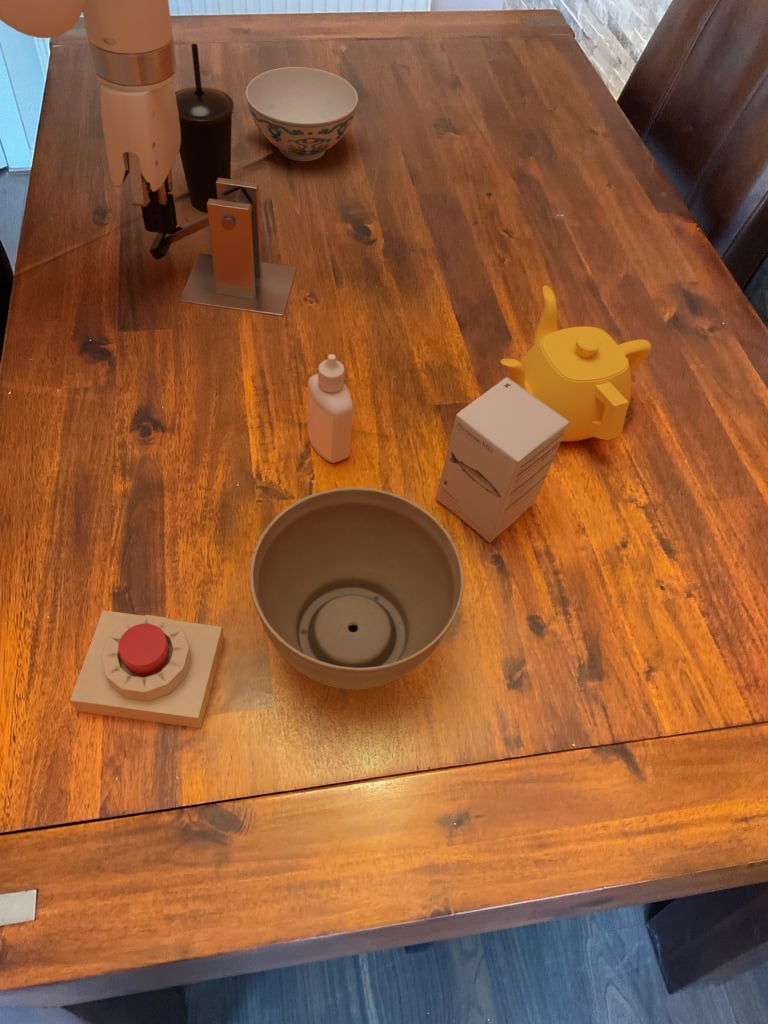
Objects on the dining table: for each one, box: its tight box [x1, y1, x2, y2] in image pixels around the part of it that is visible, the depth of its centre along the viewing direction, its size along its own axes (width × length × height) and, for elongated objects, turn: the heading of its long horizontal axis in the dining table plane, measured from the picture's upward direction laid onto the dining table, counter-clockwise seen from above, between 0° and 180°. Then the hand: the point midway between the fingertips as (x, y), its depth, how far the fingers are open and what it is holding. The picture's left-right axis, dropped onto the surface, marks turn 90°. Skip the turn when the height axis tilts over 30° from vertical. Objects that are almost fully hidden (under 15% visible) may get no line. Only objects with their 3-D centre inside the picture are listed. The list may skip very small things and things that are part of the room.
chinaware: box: [245, 66, 359, 162], centre depth 111 cm, size 15×15×8 cm
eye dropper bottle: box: [306, 353, 354, 464], centre depth 77 cm, size 4×6×12 cm
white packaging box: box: [435, 376, 569, 544], centre depth 74 cm, size 7×7×13 cm
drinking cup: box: [175, 43, 235, 214], centre depth 96 cm, size 8×8×20 cm
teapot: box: [500, 285, 652, 443], centre depth 84 cm, size 14×13×10 cm
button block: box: [69, 609, 225, 729], centre depth 64 cm, size 10×8×4 cm
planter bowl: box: [249, 486, 464, 690], centre depth 65 cm, size 16×16×11 cm
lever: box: [148, 189, 253, 261], centre depth 88 cm, size 12×5×2 cm
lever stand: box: [178, 178, 298, 317], centre depth 89 cm, size 12×9×13 cm
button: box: [118, 624, 169, 675], centre depth 62 cm, size 4×4×2 cm
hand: (161, 228), depth 89 cm, fingers closed
